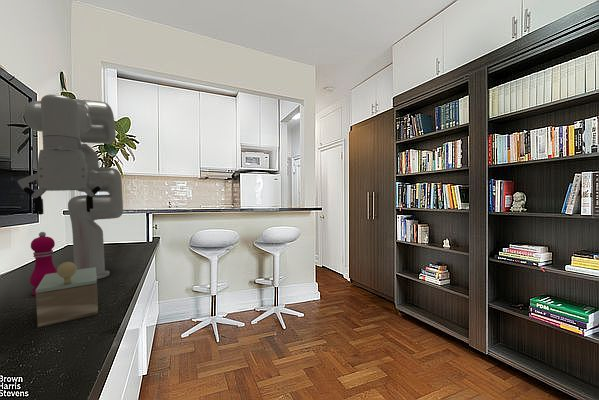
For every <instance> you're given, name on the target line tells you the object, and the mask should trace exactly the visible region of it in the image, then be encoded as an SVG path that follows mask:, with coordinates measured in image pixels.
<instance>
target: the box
mask: <svg viewBox="0 0 599 400" xmlns="http://www.w3.org/2000/svg"><path fill="white" fill-rule="evenodd" d="M96 280H97V281H98V279H97V276H96ZM98 299H99V297H98V283H95V284H89V285H83V286H77V287H71V288H65V289H59V290H53V291H47V292H41V293H36V296H35V301H36V302H35V304H36V319H37V321H36V322H37V328H40V327H44V326H45V327H46V326H51V325H54V324H59V323H65V322H70V321H74V320H78V319H83V318H87V317H92V316H97V315H99V300H98Z"/></svg>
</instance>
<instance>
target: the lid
mask: <svg viewBox="0 0 599 400" xmlns="http://www.w3.org/2000/svg"><path fill="white" fill-rule="evenodd" d="M56 270H57V273H51V274H45V276H44V278H43V279H42V281H41V282H40V284H39V285H38V287H37V289H36V293H41V292H47V291H53V290H59V289H65V288H71V287H77V286H83V285H89V284H95V283H97V282H98V279H97V280H96V267H94V268H87V269H80V270H77V267H76V265H75V264H74V262H72V261H65V262H62V263H61V264H59V265H58V266H57V268H56ZM97 284H98V283H97Z"/></svg>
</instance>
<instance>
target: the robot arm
mask: <svg viewBox="0 0 599 400" xmlns="http://www.w3.org/2000/svg"><path fill="white" fill-rule="evenodd" d="M23 113H24V114H23V115H24V116H23V117H24V120H25V121H24V122H25V123H26V125H27V126H28V127H29V128H30V129H31V130H32V131H36V132H41V133H42V136H41V137H42V149H39V152H38V159H37V172H35V173H34V174H31V175H28V176H26V177H22V178H20V179H18V180H17V184H18V185H19V186H20V188H21V189H22V190H23V191H24V193H26V194H27V195H29V196H31V198H33V205H34V207H33V209H34V212H37V215H39V216H40V215H43V214H44V213H45V212H44V199H43V198H42V195H43V194H45V193H46V192H47V191H48V192H49V191H51V192H52V191H53V192H54V191H55V192H56V191H57V192H60V191H64V192H65V191H77V192H80V193H85V194H83V195H77V196H73V197H72V198H70V199H69V201H68V203H67V210H68V214H69V217H70V222H71V223H70V224H71V229H72V231H71V232H72V245H73V246H72V248H73V249H72V250H73V251H72V252H73V263H74V264H75V265H76V267H77V270H80V269H87V268H94V267H96V276H97V280H101V279H104V278H106V277H108V276H110V274H111V272H110V271H109V270H106V265H105V261H106V260H105V247H104V245H105V244H104V231H103V229H102V227H101V225H99V224H98V223H97V222H95V221H97V220H111V219H113V220H114V219H119V218H120V217H121V216H122V215H123V212H124V211H123V210H124V202H123V185H122V184H123V183H122V177H121V173H120V171H119V170H118V169H116V168H114V167H100V166H99V156H98V154H97V152H96V151H95V150H94V149H93V148H92V147H91V146H90V145H88V143H89V144H103V145H104V144H106V145H107V144H112V143H114V142H115V140H116V135H117V134H116V126H115V124H116V123H115V117H114V113H113V110H112V107H111V106H110V105H109V103H107V102H105V101H100V100H99V101H98V100H89V99H80V98H79V99H78V98H71V97H69V96H65V95H59V94H47V95H44V96H42V98H41V100H34V101H30V102H28V103H27V104H26V105H25V108H24V111H23ZM34 181H36V182H37V187H38V189H36V190H33V189H32V188H31V187H30V186H29V183H32V182H34ZM102 192H106V193H108V194H98V193H102Z"/></svg>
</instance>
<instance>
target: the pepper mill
mask: <svg viewBox="0 0 599 400" xmlns="http://www.w3.org/2000/svg"><path fill="white" fill-rule="evenodd" d="M54 247H55V240H54V239H53V238H52V237H50V236H47V234H46V232H44V231H41V232H39V233H38V237H36V238H34V239H33V240H32V241H31V242H30V248H31V250H32V251H33V253H32V254H33V255H32V256H33V258H34V260H35V265H34V269H33V271H32V273H31V276H30V278H29V279H30V280H29V282H30V285H31V286H32V287H34V288H33V289H32V295H33V296H35V297H36V289H37V287H38V285H39V284H40V282H41V281H42V279H43V278H44V276H45V274H51V273H57V268H56V267H55V266H54V265H55V264H54V263H53V255H54V250H53V249H54Z"/></svg>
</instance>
